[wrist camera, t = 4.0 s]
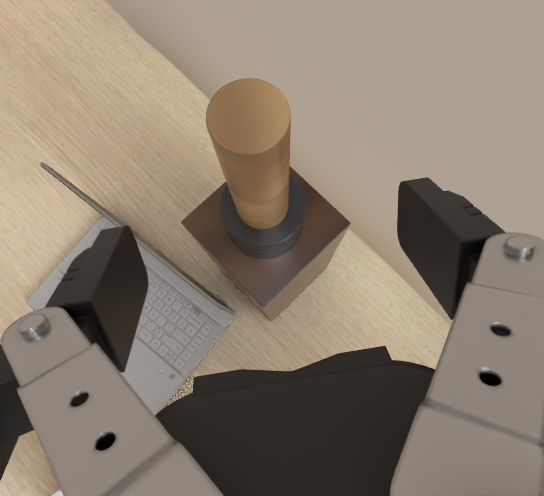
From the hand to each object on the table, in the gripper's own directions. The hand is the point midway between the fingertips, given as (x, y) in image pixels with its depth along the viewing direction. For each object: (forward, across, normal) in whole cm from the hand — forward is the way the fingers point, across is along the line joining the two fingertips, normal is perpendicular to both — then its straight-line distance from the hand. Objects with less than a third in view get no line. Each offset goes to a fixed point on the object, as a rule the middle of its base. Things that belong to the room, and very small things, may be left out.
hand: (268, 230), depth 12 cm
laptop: (+23, +15, +20) cm, 34 cm away
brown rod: (+13, 0, +7) cm, 15 cm away
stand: (+24, 0, +18) cm, 30 cm away
